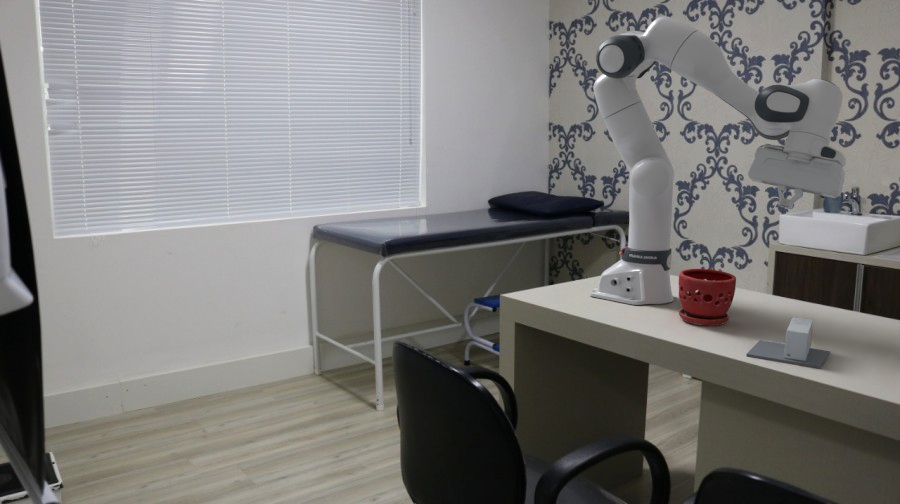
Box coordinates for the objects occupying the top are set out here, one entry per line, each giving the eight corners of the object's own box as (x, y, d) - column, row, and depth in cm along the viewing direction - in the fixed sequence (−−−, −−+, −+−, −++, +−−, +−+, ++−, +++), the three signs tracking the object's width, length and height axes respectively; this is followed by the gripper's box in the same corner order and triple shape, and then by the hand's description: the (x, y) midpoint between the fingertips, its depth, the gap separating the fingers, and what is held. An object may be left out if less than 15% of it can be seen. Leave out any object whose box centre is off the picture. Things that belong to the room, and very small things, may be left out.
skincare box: (811, 346, 159) (805, 362, 149) (789, 343, 161) (782, 358, 151) (814, 318, 158) (808, 333, 148) (792, 316, 160) (785, 330, 150)
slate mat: (746, 356, 154) (746, 353, 154) (759, 342, 164) (759, 340, 164) (820, 368, 146) (820, 366, 146) (829, 353, 156) (829, 351, 156)
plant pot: (669, 323, 179) (671, 274, 177) (686, 312, 190) (688, 266, 188) (724, 332, 172) (728, 281, 170) (739, 319, 183) (742, 272, 180)
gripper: (755, 138, 174) (736, 194, 175) (849, 154, 162) (828, 214, 162) (762, 146, 179) (743, 200, 180) (853, 162, 167) (833, 220, 167)
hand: (784, 207), depth 171 cm, fingers closed
